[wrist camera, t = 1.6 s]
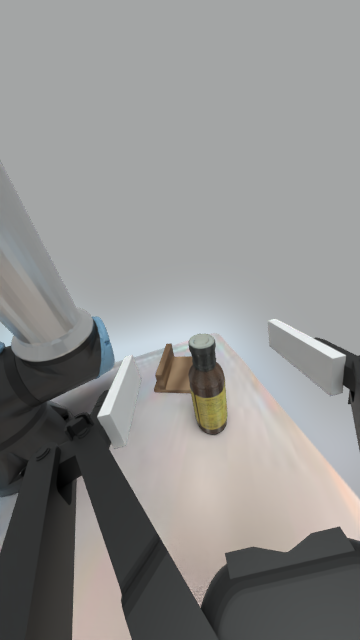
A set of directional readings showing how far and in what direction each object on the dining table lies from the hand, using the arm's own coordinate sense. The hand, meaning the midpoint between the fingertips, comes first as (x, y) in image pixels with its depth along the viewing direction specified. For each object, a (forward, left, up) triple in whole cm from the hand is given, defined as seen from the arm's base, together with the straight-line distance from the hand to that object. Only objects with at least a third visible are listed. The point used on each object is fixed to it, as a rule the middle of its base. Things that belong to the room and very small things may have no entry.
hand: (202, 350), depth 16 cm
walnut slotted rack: (-8, +20, -25) cm, 33 cm away
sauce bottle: (-1, +8, -25) cm, 26 cm away
